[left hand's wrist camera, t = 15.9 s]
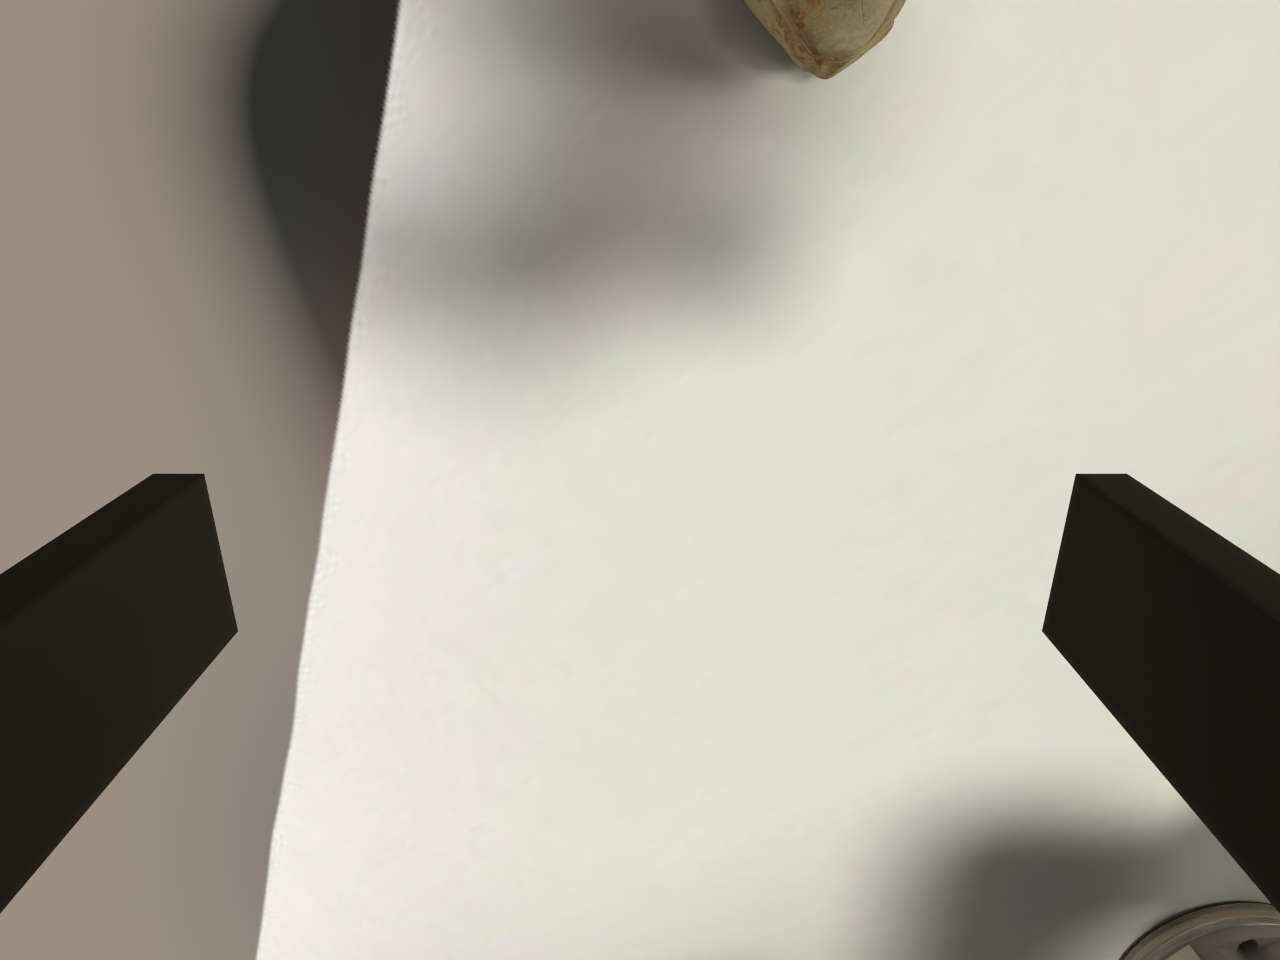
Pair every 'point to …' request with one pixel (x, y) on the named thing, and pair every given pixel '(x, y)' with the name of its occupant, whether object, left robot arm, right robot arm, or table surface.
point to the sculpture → (826, 29)
